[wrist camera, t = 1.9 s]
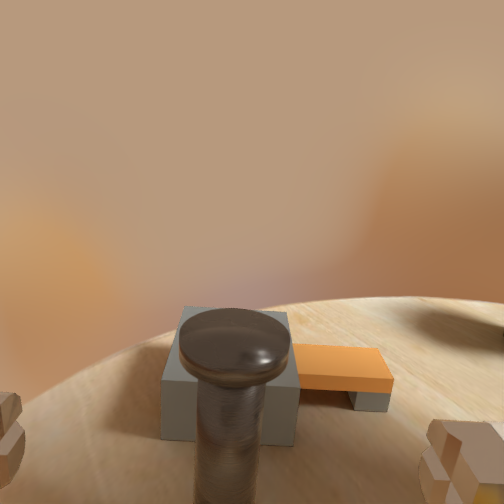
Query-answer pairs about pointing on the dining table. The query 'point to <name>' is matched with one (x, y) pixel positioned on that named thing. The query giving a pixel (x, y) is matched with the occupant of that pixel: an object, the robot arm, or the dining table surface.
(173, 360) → the bracket
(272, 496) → the dining table surface
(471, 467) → the robot arm
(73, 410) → the dining table surface
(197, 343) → the pin
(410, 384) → the dining table surface
